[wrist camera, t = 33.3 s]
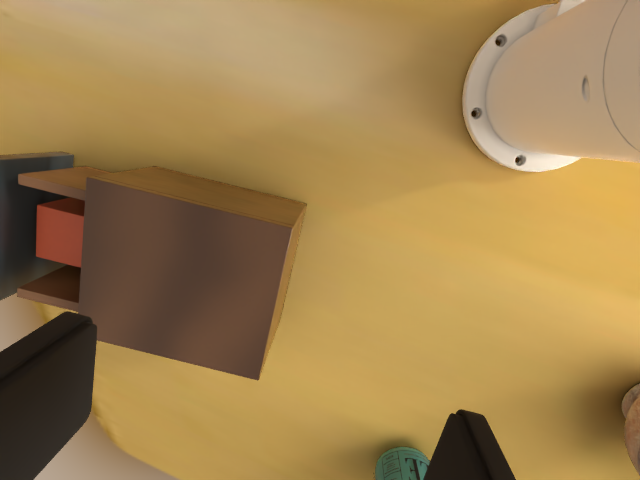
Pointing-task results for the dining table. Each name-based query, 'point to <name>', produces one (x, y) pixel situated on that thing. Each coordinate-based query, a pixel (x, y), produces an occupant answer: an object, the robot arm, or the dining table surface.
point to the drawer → (21, 223)
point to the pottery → (632, 424)
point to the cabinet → (187, 266)
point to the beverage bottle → (401, 464)
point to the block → (60, 231)
